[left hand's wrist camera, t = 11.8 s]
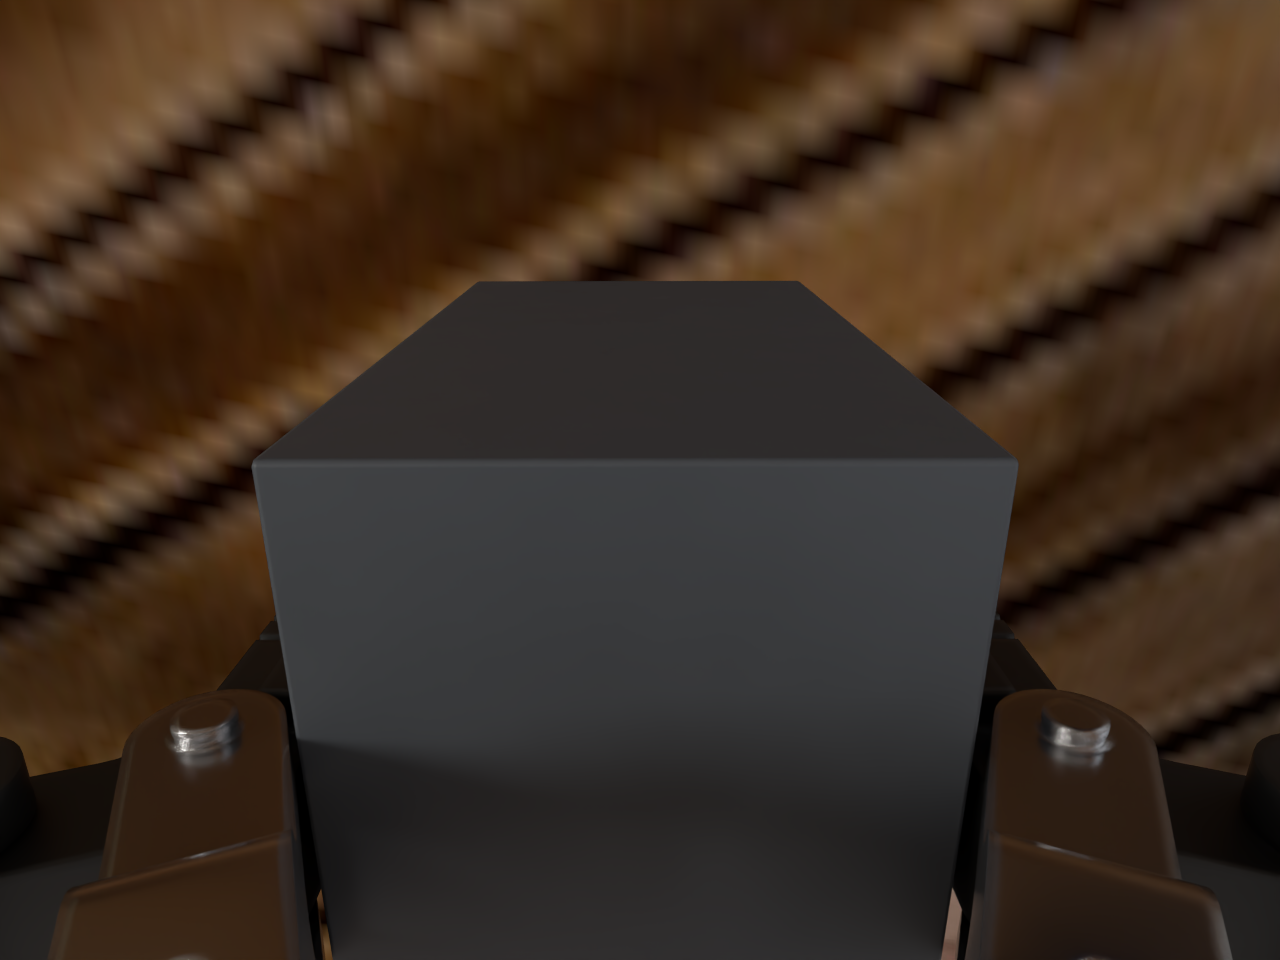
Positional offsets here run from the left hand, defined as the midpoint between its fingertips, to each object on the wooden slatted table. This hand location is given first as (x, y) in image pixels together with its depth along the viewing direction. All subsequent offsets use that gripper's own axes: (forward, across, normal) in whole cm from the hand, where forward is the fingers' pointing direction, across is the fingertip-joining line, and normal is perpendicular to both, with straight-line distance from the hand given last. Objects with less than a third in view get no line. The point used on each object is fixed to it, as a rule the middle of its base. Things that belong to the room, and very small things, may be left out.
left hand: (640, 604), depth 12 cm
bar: (+5, 0, -9) cm, 10 cm away
